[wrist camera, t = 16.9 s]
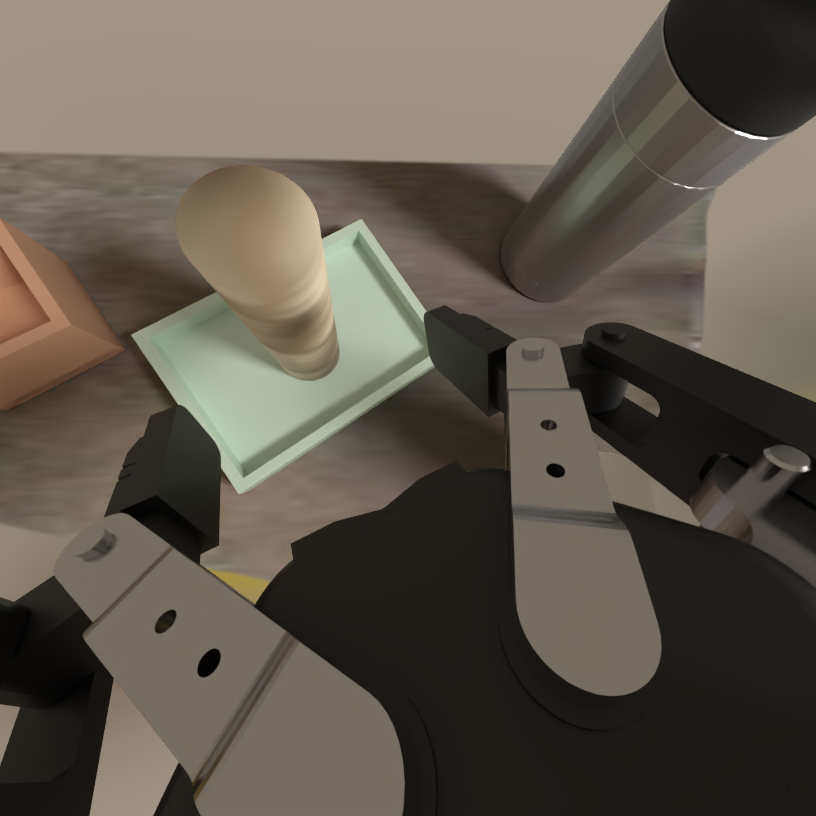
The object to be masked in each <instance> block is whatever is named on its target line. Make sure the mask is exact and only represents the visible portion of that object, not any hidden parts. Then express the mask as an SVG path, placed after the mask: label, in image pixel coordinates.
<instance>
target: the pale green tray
mask: <svg viewBox="0 0 816 816" xmlns="http://www.w3.org/2000/svg"><path fill="white" fill-rule="evenodd" d="M322 244H323V250H324V257H325V263H326V269H327V275H328V282H329V288H330V294H331V300H332V306H333V313H334V319H335V325H336V331H337V337H338V344H339V351H340V354H339V360H338V363H337V365H336V367H335V368H334V369H333V371H332V372H331V373H330V374H328V375H327V376H325V377H324V378H321V379H319V380H315V381H303V380H299V379H296V378H294V377H292V376H291V375H289V374H288V373H287V372H286V371H285V370H284V369H283V368H282V367H281V366H280V364H279V363H278V362H277V361H276V360H275V359H274V358H273V356H272V355H271V354H270V353H269V352H268V351H267V349H266V348H265V347H264V346H263V345H262V344H261V343H260V341H259V340H258V339H257V338H256V337H255V336H254V334H253V333H252V332H251V331H250V330H249V329H248V328H247V326H246V325H245V324H244V323H243V322H242V321H241V320H240V318H239V317H238V316H237V315H236V314H235V313H234V311H233V310H232V309H231V308H230V307H229V306H228V305H227V303H226V302H225V301H224V300H223V299H222V298H221V297H220V295H219V294H218V293H217V292H215V293H213V294H211V295H209V296H207V297H205V298H203V299H201V300H199V301H197V302H195V303H193V304H191V305H189V306H187V307H185V308H183V309H181V310H179V311H177V312H175V313H173V314H171V315H169V316H167V317H166V318H164V319H162V320H160V321H158V322H156V323H154V324H152V325H150V326H148V327H146V328H144V329H142V330H140V331H138V332H136V333H134V334H132V335H131V336H132V337H133V339H134V340H135V342H136V343H137V345H138V346H139V348H140V349H141V351H142V352H143V353H144V355H145V356H146V358H147V359H148V361H149V362H150V364H151V365H152V367H153V368H154V370H155V371H156V373H157V374H158V376H159V377H160V379H161V380H162V381H163V383H164V384H165V386H166V387H167V389H168V390H169V392H170V393H171V395H172V396H173V398H174V399H175V401H176V402H177V404H178V405H182V406H184V407H185V408H186V409H187V410H188V411H189V412H190V413H191V414H192V415H193V416H194V418H195V419H196V420H197V421H198V422H199V423H200V425H201V426H202V427H203V428H204V429H205V431H206V432H207V433H208V434H209V435H210V436H211V438H212V439H213V440H214V441H215V443H216V444H217V446H218V448H219V451H220V454H221V468H222V470H223V471H224V473H225V474H226V476H227V477H228V479H229V480H230V482H231V483H232V485H233V486H234V488H235V489H236V491H237V492H238V493H239V494H242V493H244V492H247V491H250V490H252V489H253V488H255V487H256V486H257V485H259V484H260V483H262V482H263V481H265V480H266V479H268V478H269V477H271V476H272V475H274V474H275V473H277V472H278V471H280V470H281V469H283V468H284V467H286V466H287V465H289V464H290V463H292V462H293V461H295V460H296V459H298V458H299V457H301V456H302V455H304V454H305V453H307V452H308V451H310V450H311V449H313V448H314V447H316V446H317V445H319V444H320V443H322V442H323V441H325V440H326V439H328V438H329V437H331V436H332V435H334V434H335V433H337V432H338V431H340V430H341V429H343V428H344V427H346V426H347V425H349V424H350V423H352V422H353V421H355V420H356V419H358V418H359V417H361V416H362V415H364V414H365V413H367V412H368V411H370V410H371V409H373V408H374V407H376V406H377V405H379V404H380V403H382V402H383V401H385V400H386V399H388V398H389V397H391V396H392V395H394V394H395V393H397V392H398V391H400V390H401V389H403V388H404V387H406V386H407V385H409V384H410V383H412V382H413V381H415V380H416V379H418V378H419V377H421V376H422V375H424V374H425V373H427V372H428V371H430V370H431V369H433V368H434V367H435V366H434V365H433V363H432V361H431V359H430V356H429V351H428V345H427V338H426V332H425V325H424V314H425V312H426V310H425V309H424V308H423V306H422V305H421V303H420V302H419V300H418V299H417V298H416V296H415V295H414V293H413V292H412V290H411V289H410V288H409V286H408V285H407V283H406V282H405V280H404V279H403V278H402V276H401V275H400V273H399V272H398V271H397V269H396V268H395V266H394V265H393V263H392V262H391V261H390V259H389V258H388V256H387V255H386V253H385V252H384V251H383V249H382V248H381V246H380V245H379V243H378V242H377V241H376V239H375V238H374V236H373V235H372V233H371V232H370V231H369V229H368V228H367V226H366V225H365V223H364V222H363V221H362V219H361V220H359V221H357V222H355V223H353V224H351V225H349V226H347V227H345V228H343V229H341V230H339V231H337V232H335V233H333V234H331V235H329V236H327V237H325V238H323V239H322Z"/></svg>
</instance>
